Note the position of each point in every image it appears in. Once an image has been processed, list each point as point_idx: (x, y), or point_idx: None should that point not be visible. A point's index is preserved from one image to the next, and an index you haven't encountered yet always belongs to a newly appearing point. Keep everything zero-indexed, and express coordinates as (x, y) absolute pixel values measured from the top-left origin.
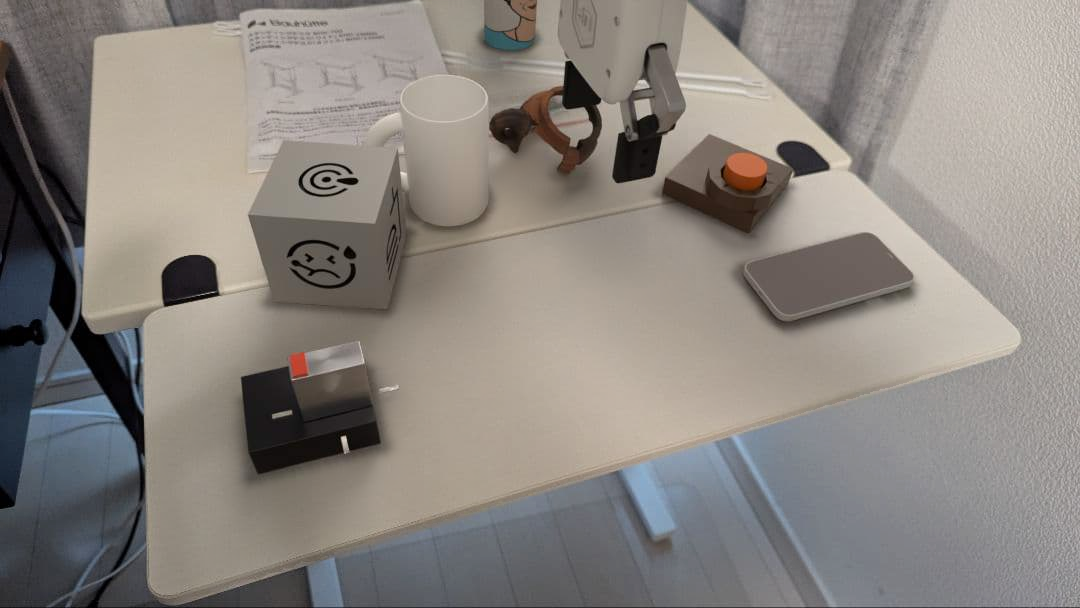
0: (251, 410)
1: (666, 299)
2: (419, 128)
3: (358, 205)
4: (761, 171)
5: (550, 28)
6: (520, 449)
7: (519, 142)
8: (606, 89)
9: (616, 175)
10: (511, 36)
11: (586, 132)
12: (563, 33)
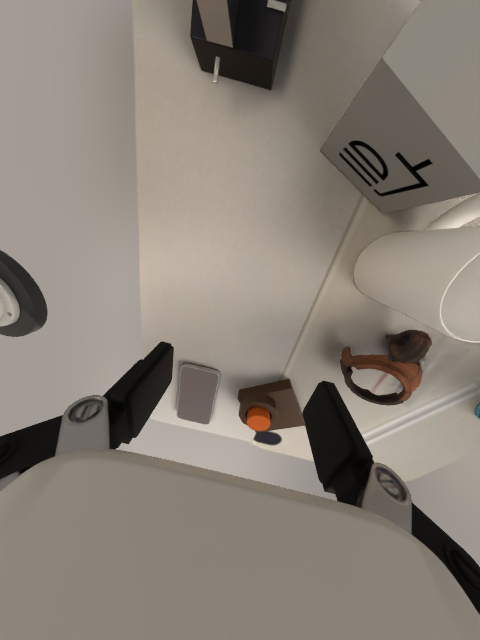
0: None
1: (221, 331)
2: None
3: (440, 46)
4: (249, 424)
5: (475, 430)
6: (161, 185)
7: (389, 341)
8: (10, 511)
9: (156, 347)
10: None
11: (365, 381)
12: (420, 621)
